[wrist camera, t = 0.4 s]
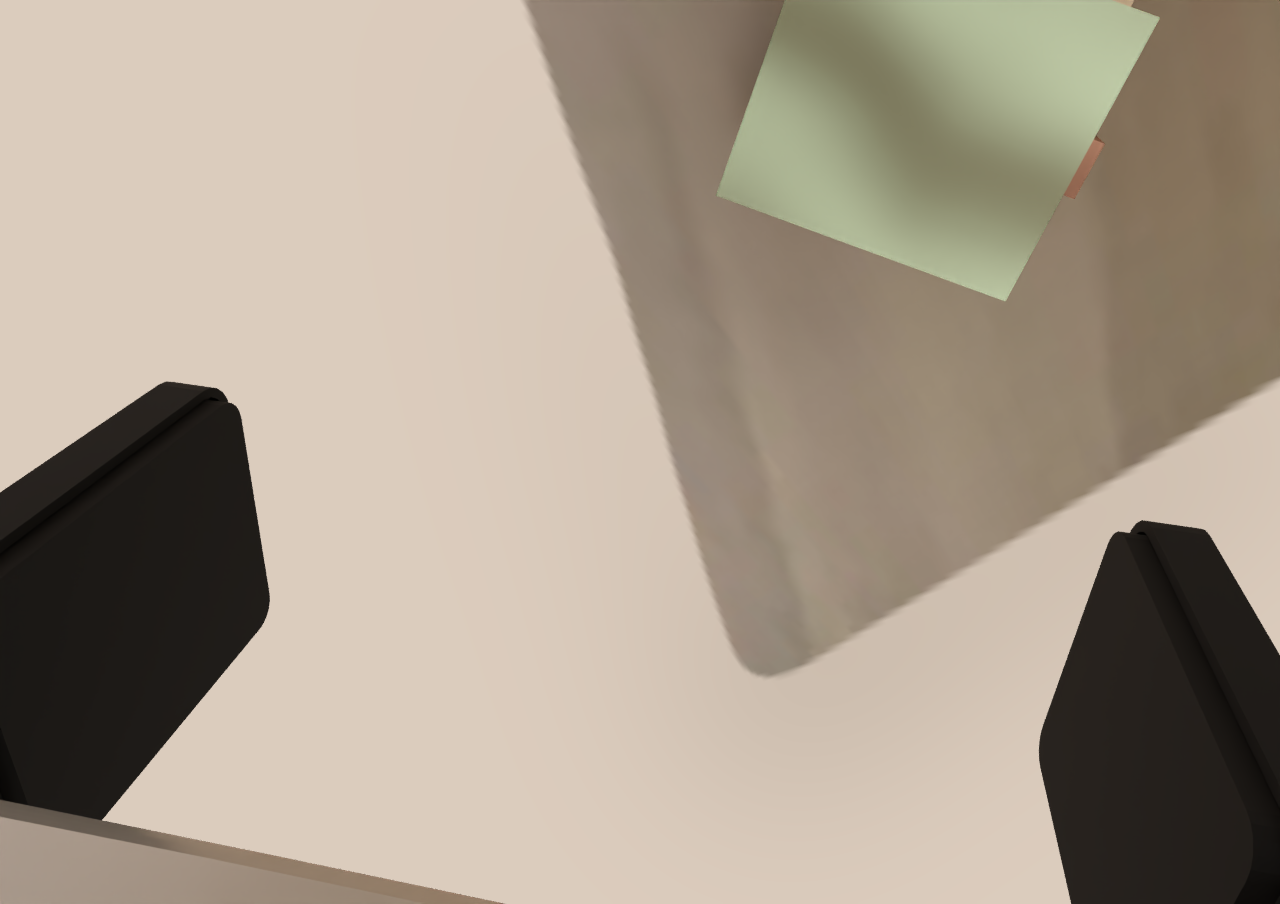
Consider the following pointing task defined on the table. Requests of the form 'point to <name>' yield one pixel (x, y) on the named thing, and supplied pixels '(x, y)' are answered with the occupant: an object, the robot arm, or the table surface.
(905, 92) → the step stand
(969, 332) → the table surface
